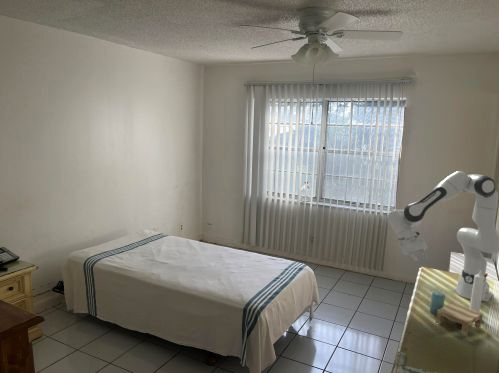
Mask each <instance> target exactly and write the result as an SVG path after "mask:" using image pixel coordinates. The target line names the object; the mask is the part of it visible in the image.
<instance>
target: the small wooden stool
mask: <svg viewBox="0 0 499 373" xmlns="http://www.w3.org/2000/svg"><path fill="white" fill-rule="evenodd" d="M444 318H447V319H448V320H451V321H453V322H456V323H458V324H460V325H462V326H461V332H460V335H461V336H464V337H468V333H469V326H470V325H472V324H474V328H477V329H480V328H481V326H482V320H483V313H482V312H477V311H474V310H472V309H470V307H466V306H463V305H461V304H459V303H456V302H452V303H449V304H447V305H444V307H443V308H441V309H438V311H437V315H436V319H435V324H436V323H438V324H437V325H439V324H441V323H442V324H443V319H444ZM442 324H441V325H442Z"/></svg>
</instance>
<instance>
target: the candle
mask: <svg viewBox="0 0 499 373" xmlns="http://www.w3.org/2000/svg"><path fill="white" fill-rule="evenodd" d="M484 280H485V277H484V276H483V275H482V273H481V270H480V272H479V273H478V274H477V275H475V276H474V283H473V289H472V296H471V299H470V304H469V309H472V310H474V311H477V312H479V313H481V305H482V301H481V299H482V293H483V286H484Z"/></svg>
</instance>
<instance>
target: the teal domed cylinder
mask: <svg viewBox="0 0 499 373" xmlns="http://www.w3.org/2000/svg"><path fill="white" fill-rule="evenodd" d="M445 299H446V295H445V293H443V292H440V291H432V292H431V300H430V307H429V312H430V313H431V314H433V315H436V314H437V311H438V309H441V308H443V307H445Z"/></svg>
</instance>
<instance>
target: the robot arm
mask: <svg viewBox="0 0 499 373" xmlns="http://www.w3.org/2000/svg"><path fill="white" fill-rule="evenodd" d="M462 192H465V193H469V194H473V195H474V196H475V202H474V206H473V210H472V218H471V219H472V221H473V222H474V223H475V224H476V227H477V229H476V228H474V227H473V228H472V227H461V228H460V229H459V230H458V231H457V233H456V240H457V242H458V243H459V244H460V245H461V249H462V251H463V255H464V259H463V260H464V262H463V269H462V271H461V276H459V277H458V279H457V280H458V281H457V285H456V287H454V288H453V290H454V291H455V292H456V294H457V295H459V296H460V297H463V298H465V299H468V300H471V296H472V289H473V283H474V276H475V275H477V274H478V273H479V272H480V270H481V273H482V275H483V276H484V277H485V280H484V286H483V293H482V299H481V302H490V300H491V299H492V297H493V295H494V293H493V292H492V291H490V283H488V281H487V277H488V272H487V265H488V262H487V259H486V258H485V257H484V255H483V254H482V253H485V254H492V255H498V254H499V234H498V231H497V228H496V217H497V211H498V206H499V205H498V204H499V193H498V191H497V190H496V182H495V180H494V179H493V178H491V177H490V176H488V175H483V174H478V173H476V174H475V173H473V174H472V173H466V172H464V171H461V170H457V171H455V172H453V173H451V174H449V175H448V176H447V177H444V179H443V180H441V181H439V183H437V184H436V186H435V187H434V188H433V190H431V191H430V192H429V193H428V194H426V195H424V196H423V197H422V198H420V199H419V200H417V201H415V202H411V203H409V204H408V205H406V206H405V207H404V209H394V210H392V211H391V212H389V213H388V215H387V222H388V224H389V225H390V227H391V228H392V230H393V232H395V234H396V236H397V239H398V240H397V242H398V247H399V249H400V250H401V252H402V254H403V255H404V256H407V255H409V256H410V257H411V258H412V259H413V260H414V262H416V261H418V260H419V257H418V256H416V255H415V254H416V253H418V252H420V253H421V254H422V257H423V259H427V258H428V254H427V251H426V249H428V244H427V243H426V241H425V239H424V238H423V237H422V236H421V235H422V234H421V232H419V231H416V230H414V229H413V228H414V227H417V226H419V225H421V224H422V222H423V221H424V220H423V219H424V216H425V214H426V212H427V211H428V210H429V209H430V208H432V207H433V206H434V205H436V204H437V203H438V202H449V201H450V200H452V199H454V198H455V197H457V196H458V195H459V194H460V193H462Z"/></svg>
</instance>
